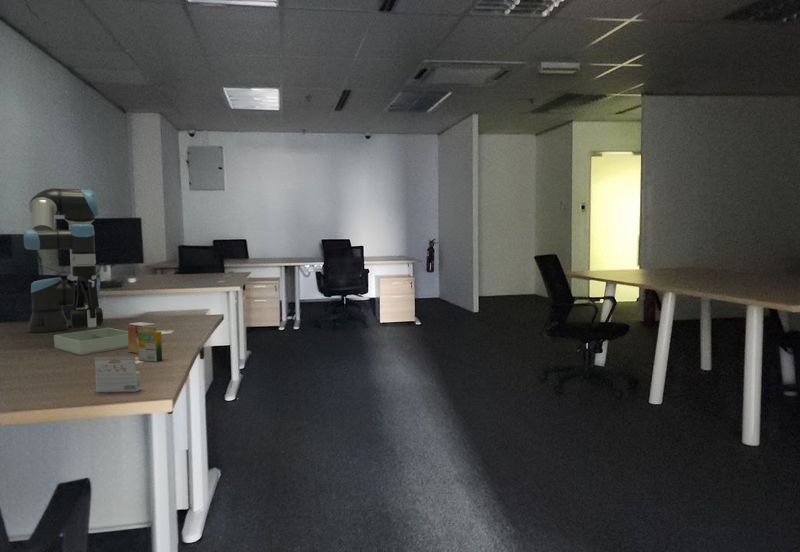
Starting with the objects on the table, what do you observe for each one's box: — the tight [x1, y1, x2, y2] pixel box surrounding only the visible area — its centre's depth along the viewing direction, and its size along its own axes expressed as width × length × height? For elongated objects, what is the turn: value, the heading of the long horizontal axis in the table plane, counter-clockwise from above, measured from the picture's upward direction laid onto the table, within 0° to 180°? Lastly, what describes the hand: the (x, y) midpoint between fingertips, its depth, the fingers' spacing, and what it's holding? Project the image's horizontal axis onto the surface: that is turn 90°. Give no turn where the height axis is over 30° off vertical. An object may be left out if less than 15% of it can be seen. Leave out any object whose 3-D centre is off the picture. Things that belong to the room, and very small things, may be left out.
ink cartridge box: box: [93, 355, 141, 393], centre depth 141 cm, size 2×11×10 cm, turn 92°
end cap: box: [69, 307, 104, 329], centre depth 196 cm, size 10×7×7 cm
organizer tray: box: [53, 327, 129, 356], centre depth 199 cm, size 22×20×5 cm
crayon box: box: [138, 326, 163, 362], centre depth 177 cm, size 7×3×12 cm, turn 74°
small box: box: [127, 321, 156, 355], centre depth 190 cm, size 8×6×10 cm
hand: (86, 325), depth 196 cm, fingers closed on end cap, 8 cm apart
